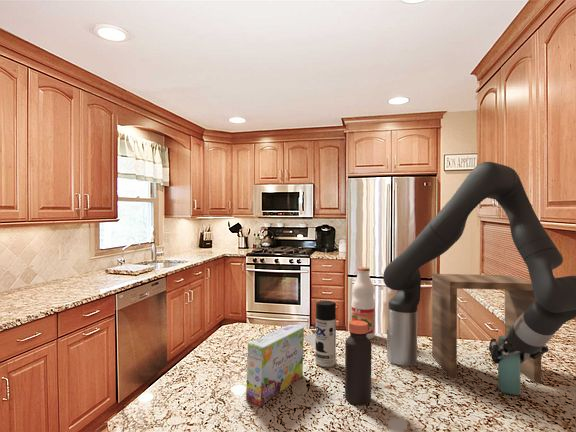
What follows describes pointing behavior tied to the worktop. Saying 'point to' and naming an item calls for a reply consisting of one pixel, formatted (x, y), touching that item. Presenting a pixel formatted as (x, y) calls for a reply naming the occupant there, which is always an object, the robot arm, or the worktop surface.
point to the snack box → (274, 363)
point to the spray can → (325, 333)
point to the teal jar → (509, 372)
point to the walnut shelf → (446, 314)
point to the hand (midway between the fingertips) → (505, 360)
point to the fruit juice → (364, 300)
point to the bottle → (358, 364)
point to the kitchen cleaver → (311, 337)
